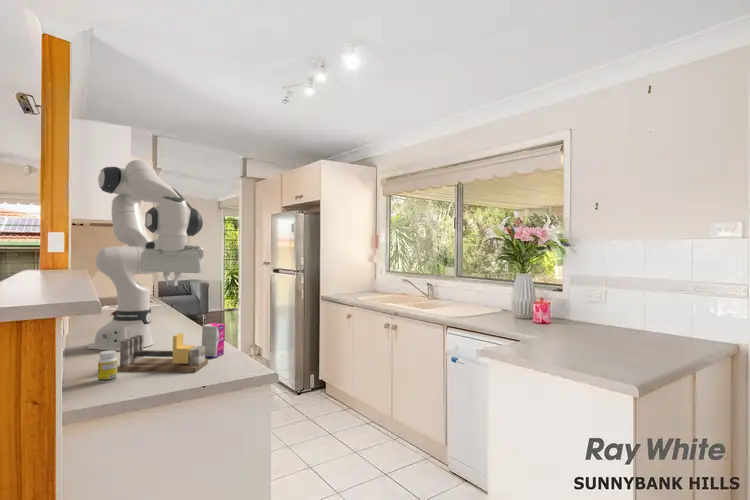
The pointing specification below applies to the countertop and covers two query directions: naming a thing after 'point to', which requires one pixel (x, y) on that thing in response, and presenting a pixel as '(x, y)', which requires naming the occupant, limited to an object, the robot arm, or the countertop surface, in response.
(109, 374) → the supplement bottle
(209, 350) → the supplement box
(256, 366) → the countertop surface
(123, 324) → the robot arm
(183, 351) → the yellow l-shaped block
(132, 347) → the wooden board with slider
